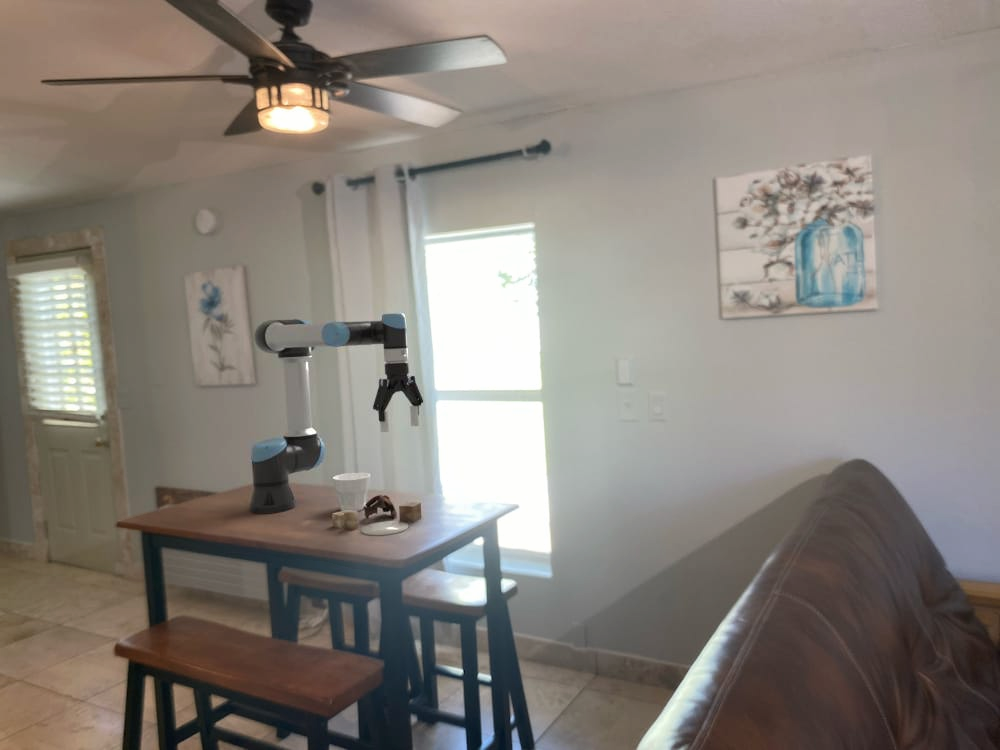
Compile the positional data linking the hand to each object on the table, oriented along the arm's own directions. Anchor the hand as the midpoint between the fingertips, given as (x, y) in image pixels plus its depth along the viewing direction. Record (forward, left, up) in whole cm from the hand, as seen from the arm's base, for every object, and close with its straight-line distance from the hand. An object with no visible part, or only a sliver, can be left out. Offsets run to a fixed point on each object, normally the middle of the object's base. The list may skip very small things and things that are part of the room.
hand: (400, 428), depth 232 cm
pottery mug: (-5, -5, -28) cm, 29 cm away
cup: (-22, -1, -28) cm, 36 cm away
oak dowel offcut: (-4, -19, -28) cm, 34 cm away
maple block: (-9, -17, -28) cm, 34 cm away
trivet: (+6, -15, -28) cm, 32 cm away
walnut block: (+6, -4, -28) cm, 29 cm away
